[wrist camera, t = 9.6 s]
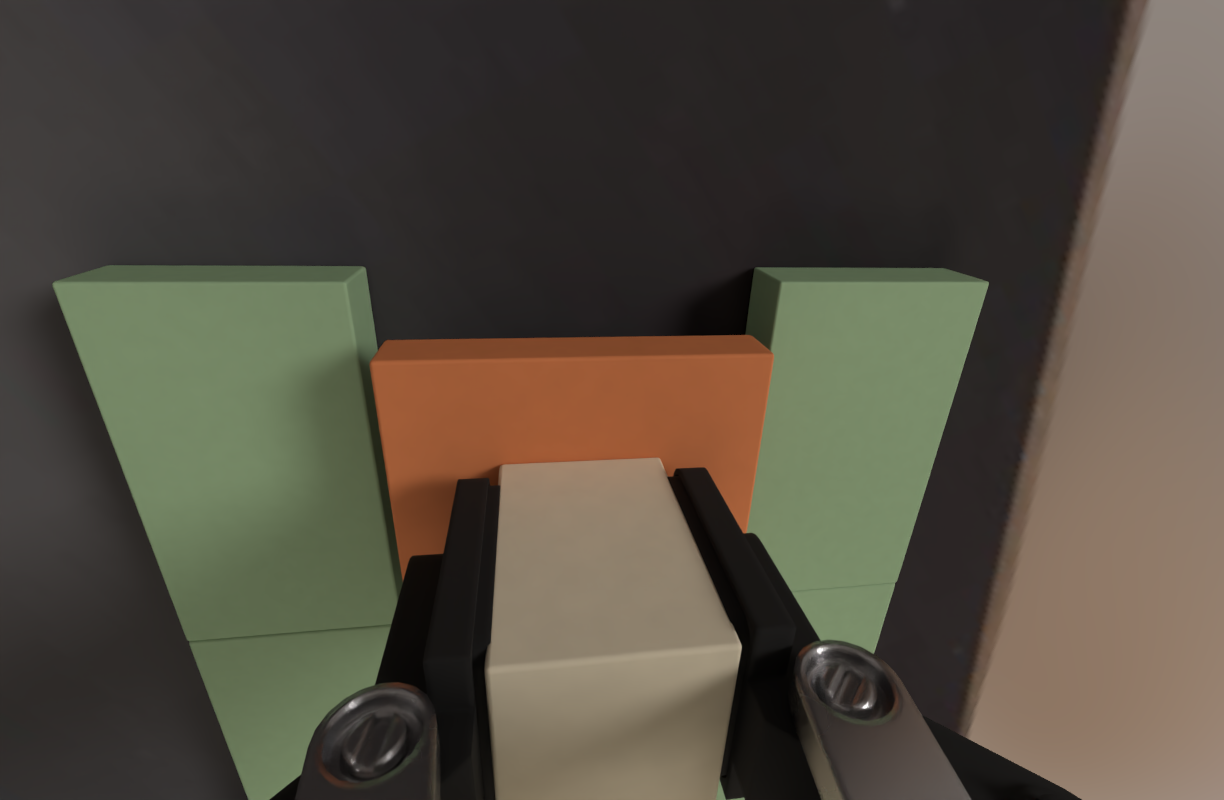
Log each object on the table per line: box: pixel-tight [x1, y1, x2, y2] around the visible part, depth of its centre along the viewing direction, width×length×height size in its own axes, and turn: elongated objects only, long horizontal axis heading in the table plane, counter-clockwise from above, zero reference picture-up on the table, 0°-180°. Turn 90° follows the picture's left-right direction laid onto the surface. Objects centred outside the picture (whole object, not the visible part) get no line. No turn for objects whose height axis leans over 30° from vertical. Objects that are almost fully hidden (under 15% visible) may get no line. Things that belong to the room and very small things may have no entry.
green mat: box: [52, 265, 989, 800], centre depth 15 cm, size 18×18×2 cm
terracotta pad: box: [369, 335, 774, 800], centre depth 10 cm, size 7×7×6 cm
